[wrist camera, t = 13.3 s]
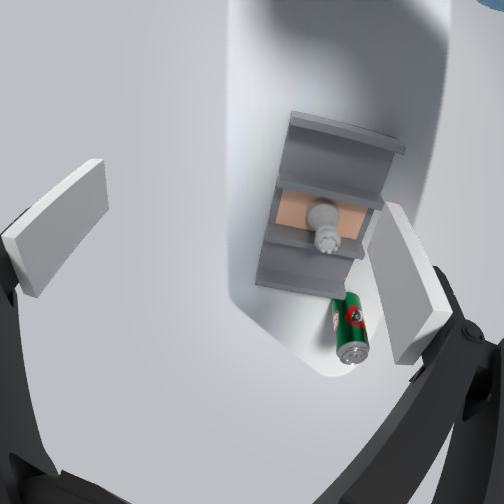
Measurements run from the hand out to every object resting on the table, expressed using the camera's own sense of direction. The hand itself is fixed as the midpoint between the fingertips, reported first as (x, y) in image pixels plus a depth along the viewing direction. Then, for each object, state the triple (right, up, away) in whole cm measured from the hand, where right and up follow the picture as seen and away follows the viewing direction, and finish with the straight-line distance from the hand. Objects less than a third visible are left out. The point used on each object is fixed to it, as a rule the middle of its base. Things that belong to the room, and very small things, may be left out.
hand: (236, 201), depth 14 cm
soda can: (+17, -10, +39) cm, 44 cm away
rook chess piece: (+10, +3, +29) cm, 31 cm away
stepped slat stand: (+10, +4, +30) cm, 32 cm away
